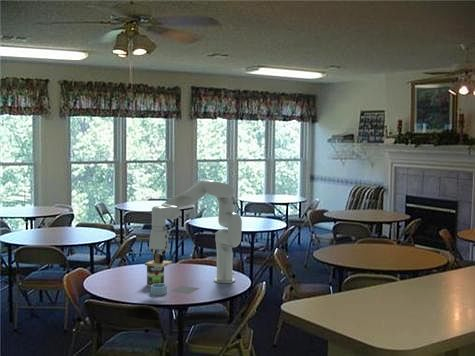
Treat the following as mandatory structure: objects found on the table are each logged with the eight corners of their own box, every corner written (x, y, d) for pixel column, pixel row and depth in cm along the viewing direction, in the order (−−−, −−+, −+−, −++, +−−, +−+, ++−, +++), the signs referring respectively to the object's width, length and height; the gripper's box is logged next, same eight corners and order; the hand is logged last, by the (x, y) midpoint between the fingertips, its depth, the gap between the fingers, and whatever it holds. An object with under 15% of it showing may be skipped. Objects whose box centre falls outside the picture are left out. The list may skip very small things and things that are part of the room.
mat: (181, 286, 330) (181, 285, 330) (199, 288, 325) (199, 288, 325) (170, 291, 319) (170, 290, 319) (189, 294, 314) (189, 293, 314)
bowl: (156, 290, 322) (156, 282, 321) (170, 292, 318) (170, 284, 317) (147, 294, 313) (147, 286, 313) (161, 296, 310) (161, 288, 309)
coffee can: (165, 286, 331) (165, 262, 330) (147, 287, 328) (147, 263, 327) (163, 281, 340) (163, 258, 339) (145, 282, 338) (145, 259, 337)
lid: (155, 261, 321) (155, 250, 321) (172, 263, 317) (172, 252, 316) (144, 265, 312) (144, 254, 311) (161, 267, 307) (161, 256, 306)
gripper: (174, 228, 313) (174, 261, 314) (150, 226, 320) (150, 258, 321) (167, 230, 306) (167, 264, 307) (142, 228, 313) (142, 261, 314)
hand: (158, 261), depth 314 cm, fingers closed on lid, 3 cm apart
